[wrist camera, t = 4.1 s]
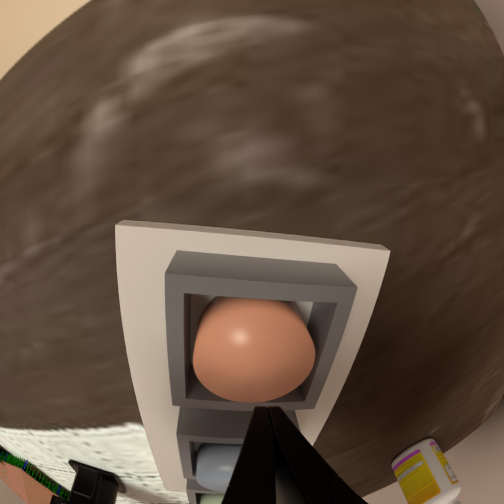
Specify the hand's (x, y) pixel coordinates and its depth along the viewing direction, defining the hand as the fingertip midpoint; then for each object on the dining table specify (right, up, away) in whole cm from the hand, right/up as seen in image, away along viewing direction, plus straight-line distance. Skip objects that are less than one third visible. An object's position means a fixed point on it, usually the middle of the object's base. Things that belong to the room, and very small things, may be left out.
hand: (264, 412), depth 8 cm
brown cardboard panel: (-44, -43, +19) cm, 65 cm away
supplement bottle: (+21, -21, +16) cm, 33 cm away
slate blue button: (-2, -8, +7) cm, 11 cm away
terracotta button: (0, +1, +5) cm, 5 cm away
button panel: (-2, -7, +9) cm, 12 cm away
